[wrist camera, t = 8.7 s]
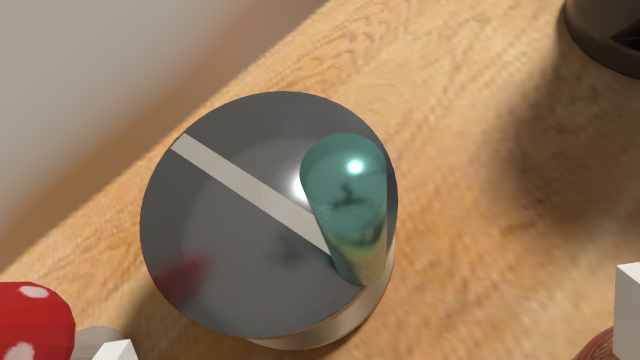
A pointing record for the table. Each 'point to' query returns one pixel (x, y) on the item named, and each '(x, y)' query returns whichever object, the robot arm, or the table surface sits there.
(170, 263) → the crank wheel
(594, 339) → the canister
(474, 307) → the table surface
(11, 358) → the decorative mushroom
